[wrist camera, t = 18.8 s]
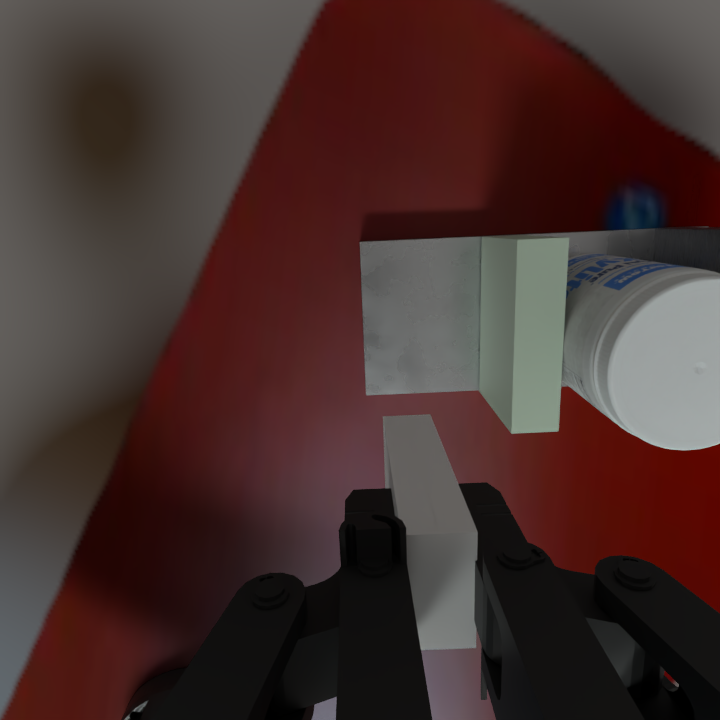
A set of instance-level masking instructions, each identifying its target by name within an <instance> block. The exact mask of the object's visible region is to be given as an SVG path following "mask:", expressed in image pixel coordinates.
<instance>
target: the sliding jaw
mask: <svg viewBox="0 0 720 720" xmlns="http://www.w3.org/2000/svg"><path fill="white" fill-rule="evenodd" d="M568 251H569V237H551V236H533V235H509V236H487V237H482V247H481V315H480V383H479V392H480V393H481V394H482V395H483V397H484V398H485V399H486V401H487V402H488V403H489V405H490V406H491V407H492V409H493V410H494V411H495V413H496V414H497V415H498V417H499V418H500V419H501V421H502V422H503V423H504V424H505V426H506V427H507V428H508V430H509V431H510V432H511V433H533V432H556V431H559V414H560V395H561V377H562V359H563V341H564V323H565V305H566V287H567V269H568Z"/></svg>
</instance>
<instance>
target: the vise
mask: <svg viewBox="0 0 720 720" xmlns="http://www.w3.org/2000/svg"><path fill="white" fill-rule="evenodd" d="M511 235H533V236H551V237H569V251H568V258H571V257H574V256H577V255H582V254H593V253H596V254H605V255H612V256H619V257H626V258H633V259H639V260H646V261H653V262H660V263H666V264H673V265H679V266H686V267H692V268H698V269H704V270H709V271H714V272H717V273H720V227H709V226H691V227H668V228H646V229H624V230H601V231H579V232H556V233H534V234H511ZM489 236H509V235H489ZM482 237H487V236H466V237H444V238H422V239H399V240H377V241H360V265H361V288H362V312H363V336H364V359H365V383H366V395H383V394H405V393H428V392H450V391H472V390H479V383H480V315H481V247H482ZM562 386H568V385H567V384H566V383H565V382H563V381H562V380H561V387H562Z"/></svg>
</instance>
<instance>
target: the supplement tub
mask: <svg viewBox="0 0 720 720" xmlns="http://www.w3.org/2000/svg"><path fill="white" fill-rule="evenodd" d="M561 380H562V381H563V382H565V383H566V384H567V385H568V386H569V387H571V388H572V389H573V390H574V391H576V392H577V393H578V394H579V395H581V396H582V397H583V398H584V399H586V400H587V401H588V402H589V403H591V404H592V405H593V406H594V407H596V408H597V409H598V410H599V411H601V412H602V413H603V414H604V415H606V416H607V417H608V418H610V419H611V420H612V421H613V422H615V423H616V424H617V425H619V426H620V427H621V428H623V429H624V430H626V431H627V432H629V433H631V434H633V435H635V436H637V437H639V438H640V439H642V440H644V441H646V442H648V443H650V444H652V445H655V446H658V447H662V448H666V449H672V450H695V449H702V448H707V447H711V446H714V445H717V444H719V443H720V273H717V272H714V271H709V270H704V269H698V268H692V267H686V266H679V265H673V264H666V263H660V262H653V261H646V260H639V259H633V258H626V257H619V256H612V255H605V254H596V253H593V254H582V255H577V256H574V257H571V258H568V269H567V287H566V305H565V323H564V341H563V359H562V377H561Z"/></svg>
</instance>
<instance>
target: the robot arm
mask: <svg viewBox="0 0 720 720" xmlns="http://www.w3.org/2000/svg"><path fill="white" fill-rule="evenodd" d="M383 431H384V460H385V488H384V489H362V490H353V491H352V492H351V494H350V495H349V496H348V498H347V499H346V500H345V521H344V522H343V523H342V524H341V527H340V529H339V541H340V557H341V567H340V569H339V571H338V572H336V573H335V574H334V575H333V576H332V577H330V578H329V579H327V580H325V581H323V582H320V583H318V584H315V585H311V586H308V587H304V585H303V583H302V581H300V580H299V579H298V578H296V577H295V576H293V575H289V574H285V573H269V574H265V575H261V576H258V577H256V578H254V579H252V580H250V581H248V582H247V583H245V584H244V585H243V586H242V587H241V588H240V589H239V590H238V592H237V593H236V595H235V596H234V598H233V599H232V601H231V602H230V604H229V605H228V607H227V608H226V610H225V611H224V613H223V614H222V616H221V617H220V619H219V620H218V622H217V623H216V625H215V626H214V628H213V629H212V631H211V632H210V634H209V635H208V637H207V638H206V640H205V641H204V643H203V644H202V646H201V647H200V649H199V650H198V652H197V653H196V655H195V656H194V658H193V659H192V661H191V662H190V664H189V665H188V667H187V668H183V669H177V670H173V671H169V672H166V673H163V674H161V675H158V676H156V677H155V678H153V679H151V680H149V681H148V682H147V683H145V684H144V685H143V686H142V687H141V688H140V689H139V690H138V691H137V692H136V693H135V694H134V696H133V697H132V699H131V700H130V702H129V704H128V706H127V709H126V711H125V713H124V715H123V717H122V719H121V720H311V719H312V716H313V711H314V704H317V703H320V702H322V701H325V700H328V699H331V698H334V697H336V696H337V707H336V720H432V716H431V709H430V703H429V697H428V691H427V685H426V679H425V672H424V666H423V660H422V654H421V650H438V649H460V648H476V628H477V631H478V634H479V638H480V641H481V644H482V648H481V700H487V689H488V692H489V696H490V699H491V703H492V706H493V710H494V713H495V717H496V720H720V614H719V613H718V612H717V611H716V610H714V609H713V608H712V607H710V606H709V605H708V604H707V603H705V602H704V601H703V600H701V599H700V598H699V597H697V596H696V595H695V594H694V593H692V592H691V591H690V590H688V589H687V588H686V587H684V586H683V585H682V584H681V583H679V582H678V581H677V580H675V579H674V578H673V577H671V576H670V575H669V574H668V573H666V572H665V571H664V570H662V569H660V568H659V567H657V566H655V565H654V564H652V563H650V562H647V561H644V560H642V559H639V558H635V557H631V556H630V557H629V556H622V555H621V556H609V557H606V558H604V559H602V560H600V561H599V562H598V564H597V565H596V567H595V575H592V574H586V573H580V572H574V571H569V570H565V569H561V568H558V567H556V566H554V564H553V562H552V560H551V559H550V557H549V556H548V555H547V554H546V553H545V552H544V551H543V550H542V549H540V548H539V547H537V546H535V545H533V544H530V543H528V542H527V540H526V539H525V537H524V535H523V533H522V531H521V529H520V528H519V526H518V524H517V522H516V520H515V519H514V517H513V515H511V511H510V509H509V508H508V506H507V505H506V502H505V500H504V499H503V497H502V495H501V493H500V492H499V491H498V490H497V489H495V488H494V487H492V486H491V485H489V484H488V483H464V484H458V482H457V480H456V477H455V475H454V472H453V470H452V467H451V465H450V462H449V460H448V457H447V455H446V452H445V450H444V448H443V445H442V443H441V440H440V438H439V435H438V433H437V430H436V428H435V425H434V423H433V420H432V418H431V415H407V416H385V417H383ZM664 670H665V671H666V672H667V673H668V674H669V675H670V676H671V677H672V678H673V679H674V680H675V681H676V682H677V683H678V684H679V687H676V686H675V685H674V684H673V683H671V682H670V681H669V680H668V679H667V678H666V677H665V676H664Z"/></svg>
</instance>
